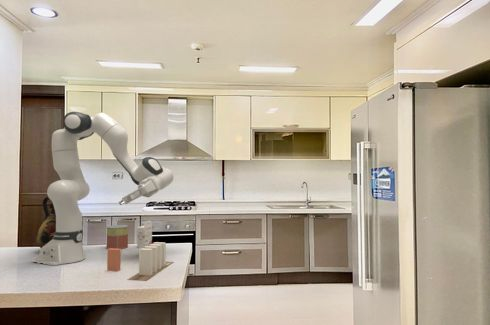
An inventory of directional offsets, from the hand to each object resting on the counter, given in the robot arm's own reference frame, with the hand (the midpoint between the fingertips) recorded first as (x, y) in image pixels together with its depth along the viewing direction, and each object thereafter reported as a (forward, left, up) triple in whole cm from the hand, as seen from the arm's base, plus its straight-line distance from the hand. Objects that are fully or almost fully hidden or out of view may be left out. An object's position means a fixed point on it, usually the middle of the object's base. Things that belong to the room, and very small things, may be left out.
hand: (125, 200), depth 141 cm
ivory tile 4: (+18, -10, -28) cm, 35 cm away
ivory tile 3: (+18, -6, -28) cm, 34 cm away
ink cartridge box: (-10, +37, -29) cm, 49 cm away
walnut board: (+18, -8, -29) cm, 35 cm away
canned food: (-24, +32, -29) cm, 50 cm away
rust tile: (+2, -11, -29) cm, 31 cm away
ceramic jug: (-54, +18, -29) cm, 64 cm away
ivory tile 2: (+18, -2, -28) cm, 33 cm away
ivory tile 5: (+18, -14, -28) cm, 36 cm away
